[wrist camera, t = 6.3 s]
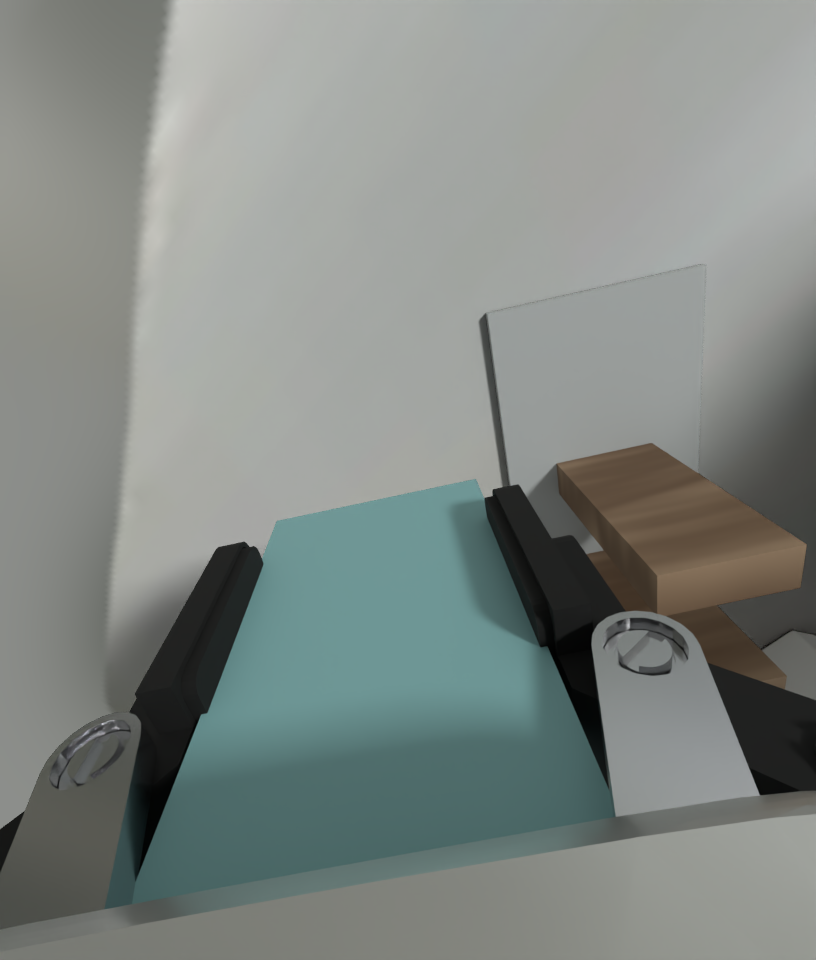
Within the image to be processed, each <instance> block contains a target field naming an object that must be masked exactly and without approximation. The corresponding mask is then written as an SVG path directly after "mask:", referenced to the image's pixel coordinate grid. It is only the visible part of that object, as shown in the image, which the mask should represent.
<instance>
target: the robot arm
mask: <svg viewBox="0 0 816 960" xmlns="http://www.w3.org/2000/svg"><path fill="white" fill-rule="evenodd" d="M485 508H486V514H487V518H488V521H489V523H490V526H491V528H492V531H493V533H494V536H495V538H496V540H497V543H498V545H499V548H500V550H501V553H502V555H503V558H504V560H505V562H506V565H507V567H508V570H509V572H510V575H511V577H512V580H513V582H514V584H515V587H516V589H517V592H518V594H519V597H520V599H521V602H522V604H523V607H524V609H525V611H526V614H527V616H528V619H529V621H530V624H531V626H532V629H533V631H534V633H535V636H536V638H537V641H538V643H539V646H540V648H541V647H546V646H548V649H549V651H550V653H551V656H552V658H553V660H554V663H555V665H556V667H557V670H558V672H559V675H560V677H561V679H562V682H563V684H564V686H565V689H566V691H567V693H568V696H569V698H570V700H571V703H572V705H573V707H574V710H575V712H576V714H577V717H578V719H579V721H580V724H581V726H582V728H583V731H584V733H585V735H586V738H587V740H588V742H589V745H590V747H591V749H592V752H593V754H594V756H595V759H596V761H597V763H598V766H599V768H600V770H601V773H602V775H603V777H604V780H605V782H606V784H607V787H608V789H609V791H610V797H611V805H612V812H613V817H612V818H606V819H600V820H595V821H589V822H583V823H578V824H572V825H566V826H561V827H555V828H549V829H544V830H538V831H532V832H527V833H521V834H515V835H510V836H504V837H498V838H493V839H487V840H481V841H476V842H470V843H464V844H458V845H453V846H447V847H441V848H436V849H430V850H424V851H419V852H413V853H408V854H402V855H397V856H391V857H386V858H380V859H375V860H369V861H364V862H358V863H353V864H347V865H342V866H336V867H331V868H325V869H320V870H314V871H309V872H303V873H298V874H292V875H287V876H281V877H276V878H270V879H265V880H260V881H254V882H249V883H243V884H238V885H232V886H227V887H221V888H216V889H210V890H205V891H200V892H194V893H189V894H184V895H178V896H173V897H168V898H162V899H157V900H152V901H147V902H141V903H136V904H132V901H133V894H134V888H135V882H136V880H137V877H138V875H139V872H140V869H141V867H142V864H143V862H144V859H145V857H146V854H147V852H148V849H149V846H150V844H151V841H152V839H153V836H154V834H155V831H156V829H157V826H158V823H159V821H160V818H161V816H162V813H163V811H164V808H165V806H166V803H167V800H168V798H169V795H170V793H171V790H172V788H173V785H174V783H175V780H176V777H177V775H178V772H179V770H180V767H181V765H182V762H183V760H184V757H185V754H186V752H187V749H188V747H189V744H190V742H191V739H192V737H193V734H194V731H195V729H196V726H197V724H198V721H199V719H200V716H201V714H206V713H208V710H209V708H210V705H211V702H212V700H213V697H214V694H215V692H216V689H217V687H218V684H219V681H220V679H221V676H222V673H223V671H224V668H225V665H226V663H227V660H228V657H229V655H230V652H231V650H232V647H233V644H234V642H235V639H236V636H237V634H238V631H239V628H240V626H241V623H242V620H243V618H244V615H245V612H246V610H247V607H248V605H249V602H250V599H251V597H252V594H253V591H254V589H255V586H256V583H257V581H258V578H259V575H260V573H261V570H262V567H263V565H264V563H263V561H262V558H261V556H260V553H259V551H258V549H257V548H256V547H254V546H253V547H249V546H248V544H247V543H245V542H241V543H236V544H231V545H227V546H222V547H218V548H217V549H216V550H215V552H214V554H213V556H212V558H211V559H210V561H209V563H208V565H207V566H206V568H205V570H204V572H203V574H202V575H201V577H200V579H199V581H198V582H197V584H196V586H195V588H194V590H193V591H192V593H191V595H190V597H189V598H188V600H187V602H186V604H185V606H184V607H183V609H182V611H181V613H180V614H179V616H178V618H177V620H176V622H175V623H174V625H173V627H172V629H171V631H170V632H169V634H168V636H167V638H166V639H165V641H164V643H163V645H162V647H161V648H160V650H159V652H158V654H157V655H156V657H155V659H154V661H153V663H152V664H151V666H150V668H149V670H148V671H147V673H146V675H145V677H144V679H143V680H142V682H141V684H140V686H139V687H138V689H137V691H136V693H135V695H136V697H137V699H136V701H135V703H134V705H133V706H132V708H131V710H130V712H116V713H112V714H109V715H106V716H102V717H100V718H98V719H96V720H94V721H92V722H90V723H88V724H86V725H85V726H83V727H82V728H80V729H79V730H77V731H76V732H75V733H73V734H72V735H71V736H70V737H68V738H67V739H66V740H65V741H64V742H63V743H62V744H61V745H60V746H59V747H58V748H57V749H56V750H55V751H54V753H53V754H52V755H51V756H50V757H49V759H48V760H47V762H46V763H45V765H44V767H43V769H42V771H41V773H40V775H39V777H38V780H37V782H36V785H35V787H34V790H33V792H32V795H31V797H30V800H29V802H28V805H27V807H26V810H25V811H24V812H23V813H21V814H20V815H19V816H17V817H16V818H15V819H14V820H12V821H11V822H9V823H8V824H7V825H5V826H4V827H3V828H1V829H0V960H816V700H814V699H811V698H808V697H805V696H802V695H799V694H797V693H794V692H791V691H788V690H785V689H782V688H779V687H776V686H774V685H771V684H768V683H765V682H762V681H759V680H756V679H753V678H750V677H748V676H745V675H742V674H739V673H736V672H733V671H730V670H727V669H724V668H722V667H719V666H716V665H713V664H710V663H707V661H706V659H705V656H704V654H703V651H702V649H701V646H700V644H699V643H698V641H697V639H696V638H695V636H694V635H693V633H691V632H690V631H689V630H688V629H687V628H686V627H684V626H683V625H682V624H681V623H679V622H677V621H675V620H673V619H671V618H669V617H667V616H663V615H660V614H656V613H653V612H644V611H628V612H626V611H625V609H624V608H623V606H622V605H621V603H620V602H619V600H618V599H617V598H616V596H615V595H614V593H613V592H612V590H611V589H610V587H609V586H608V585H607V583H606V582H605V580H604V579H603V577H602V576H601V574H600V573H599V572H598V570H597V569H596V567H595V566H594V564H593V563H592V562H591V560H590V559H589V557H588V556H587V554H586V553H585V551H584V550H583V549H582V547H581V546H580V544H579V543H578V541H577V540H576V539H575V538H574V536H573V535H566V536H562V537H557V538H551V536H550V535H549V533H548V531H547V530H546V528H545V526H544V525H543V523H542V521H541V520H540V518H539V517H538V515H537V513H536V512H535V510H534V508H533V507H532V505H531V503H530V502H529V500H528V498H527V497H526V495H525V494H524V492H523V490H522V489H521V487H520V486H519V484H517V485H512V486H507V487H502V488H498V489H493V496H492V497H487V498H485Z"/></svg>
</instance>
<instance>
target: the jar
mask: <svg viewBox="0 0 816 960" xmlns="http://www.w3.org/2000/svg"><path fill="white" fill-rule="evenodd" d="M762 651H763V652H764V653H765V654H766V655H767V656H768V657H769V658H770V659H771V660H772V661H773V662H774V663H775V664H776V665H777V666H778V667H779V668H780V669H781V670H782V671H783V672H784V673H785V674H786V675H787V679H786V686H785V690H788V691H791V692H794V693H797V694H799V695H802V696H805V697H808V698H811V699H814V700H816V635H812V634H807V633H802V632H797V631H791V632H789V633H787V634H786V635H784V636H783V637H781V638H780V639H778V640H777V641H775V642H774V643H772V644H770V645H769V646H767V647H766V648H764V649H763V650H762Z"/></svg>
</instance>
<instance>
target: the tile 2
mask: <svg viewBox="0 0 816 960" xmlns="http://www.w3.org/2000/svg"><path fill="white" fill-rule="evenodd" d="M556 465H557V476H558V487H559V494H560V496H561V497H562V498H563V499H564V501H565V502H566V503H567V504H568V506H569V507H570V508H571V510H572V511H573V512H574V513H575V515H576V516H577V517H578V518H579V520H580V521H581V522H582V523H583V525H584V526H585V527H586V528H587V530H588V531H589V532H590V533H591V535H592V536H593V537H594V538H595V540H596V541H597V542H598V544H599V545H600V546H601V547H602V549H603V550H604V551H605V552H606V554H607V555H608V556H609V557H610V559H611V560H612V561H613V562H614V564H615V565H616V566H617V567H618V569H619V570H620V571H621V572H622V574H623V575H624V576H625V578H626V579H627V580H628V581H629V583H630V584H631V585H632V586H633V588H634V589H635V590H636V591H637V593H638V594H639V595H640V596H641V598H642V599H643V600H644V601H645V603H646V604H647V605H648V606H649V608H650V609H651V610H652V612H653V613H656V614H660V615H663V616H667V615H672V614H677V613H682V612H686V611H691V610H696V609H701V608H706V607H711V606H715V605H720V604H725V603H730V602H735V601H740V600H744V599H749V598H754V597H759V596H764V595H769V594H773V593H778V592H783V591H788V590H793V589H798V588H800V587H801V580H802V574H803V567H804V561H805V554H806V548H807V544H805V543H804V542H802V541H801V540H799V539H798V538H796V537H795V536H793V535H792V534H790V533H789V532H787V531H786V530H784V529H783V528H781V527H779V526H778V525H776V524H775V523H773V522H772V521H770V520H769V519H767V518H766V517H764V516H763V515H761V514H760V513H758V512H757V511H755V510H754V509H752V508H750V507H749V506H747V505H746V504H744V503H743V502H741V501H740V500H738V499H737V498H735V497H734V496H732V495H731V494H729V493H728V492H726V491H725V490H723V489H721V488H720V487H718V486H717V485H715V484H714V483H712V482H711V481H709V480H708V479H706V478H705V477H703V476H702V475H700V474H699V473H697V472H696V471H694V470H692V469H691V468H689V467H688V466H686V465H685V464H683V463H682V462H680V461H679V460H677V459H676V458H674V457H673V456H671V455H670V454H668V453H667V452H665V451H663V450H662V449H660V448H659V447H657V446H656V445H654V444H653V443H648V444H644V445H639V446H635V447H630V448H625V449H621V450H616V451H612V452H607V453H602V454H598V455H593V456H589V457H584V458H579V459H575V460H570V461H565V462H561V463H556Z"/></svg>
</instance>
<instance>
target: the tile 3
mask: <svg viewBox="0 0 816 960" xmlns="http://www.w3.org/2000/svg"><path fill="white" fill-rule="evenodd" d="M587 556H588V557H589V559H590V560H591V562H592V563H593V564H594V566H595V567H596V569H597V570H598V572H599V573H600V574H601V576H602V577H603V579H604V580H605V582H606V583H607V585H608V586H609V587H610V589H611V590H612V592H613V593H614V595H615V596H616V598H617V599H618V600H619V602H620V603H621V605H622V606H623V608H624V609H625V611H626V612H628V611H644V612H652V610H651V609H650V608H649V606H648V605H647V604H646V603H645V601H644V600H643V599H642V598H641V596H640V595H639V594H638V593H637V591H636V590H635V589H634V588H633V586H632V585H631V584H630V583H629V581H628V580H627V579H626V578H625V576H624V575H623V574H622V572H621V571H620V570H619V569H618V567H617V566H616V565H615V564H614V562H613V561H612V560H611V559H610V557H609V556H608V555H607V554H606V552H605V551H604V550H603V551H599V552H594V553H589V554H587ZM667 617H669V618H671V619H673V620H675V621H677V622H679V623H681V624H682V625H683V626H684V627H686V628H687V629H688V630H689V631H690V632H691V633H693V635H694V636H695V638H696V639H697V641H698V643H699V644H700V646H701V649H702V651H703V654H704V656H705V659H706V661H707V663H710V664H713V665H716V666H719V667H722V668H724V669H727V670H730V671H733V672H736V673H739V674H742V675H745V676H748V677H750V678H753V679H756V680H759V681H762V682H765V683H768V684H771V685H774V686H776V687H779V688H782V689H785V686H786V679H787V675H786V674H785V673H784V672H783V671H782V670H781V669H780V668H779V667H778V666H777V665H776V664H775V663H774V662H773V661H772V660H771V659H770V658H769V657H768V656H767V655H766V654H765V653H764V652H763V651H762V650H761V649H760V648H759V647H758V646H757V645H756V644H755V643H754V642H753V641H752V640H751V639H750V638H749V637H748V636H747V635H746V634H745V633H744V632H743V631H742V630H741V629H740V628H739V627H738V626H737V625H736V624H735V623H734V622H733V621H732V620H731V619H730V618H729V617H728V616H727V615H726V614H725V613H724V612H723V611H722V610H721V609H720V608H719V607H718V606H717V605H715V606H711V607H706V608H701V609H696V610H691V611H686V612H682V613H677V614H672V615H667Z"/></svg>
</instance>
